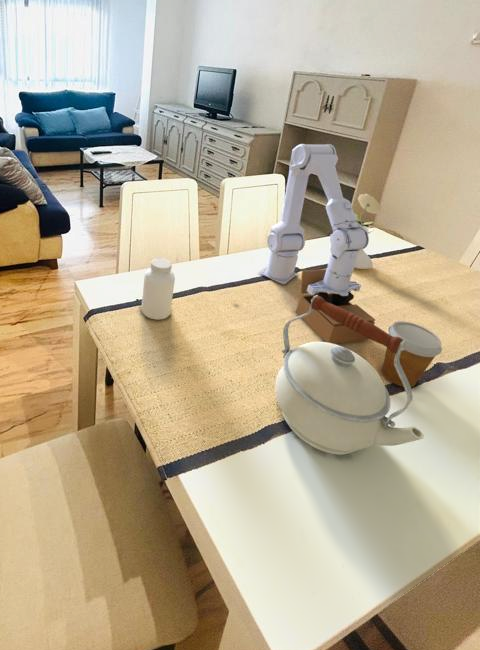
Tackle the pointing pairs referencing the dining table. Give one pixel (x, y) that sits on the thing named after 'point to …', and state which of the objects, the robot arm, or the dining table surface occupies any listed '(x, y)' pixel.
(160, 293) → the pill bottle
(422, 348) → the disposable coffee cup
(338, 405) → the kettle
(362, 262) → the flower in vase
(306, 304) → the carton
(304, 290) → the flap
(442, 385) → the dining table surface
